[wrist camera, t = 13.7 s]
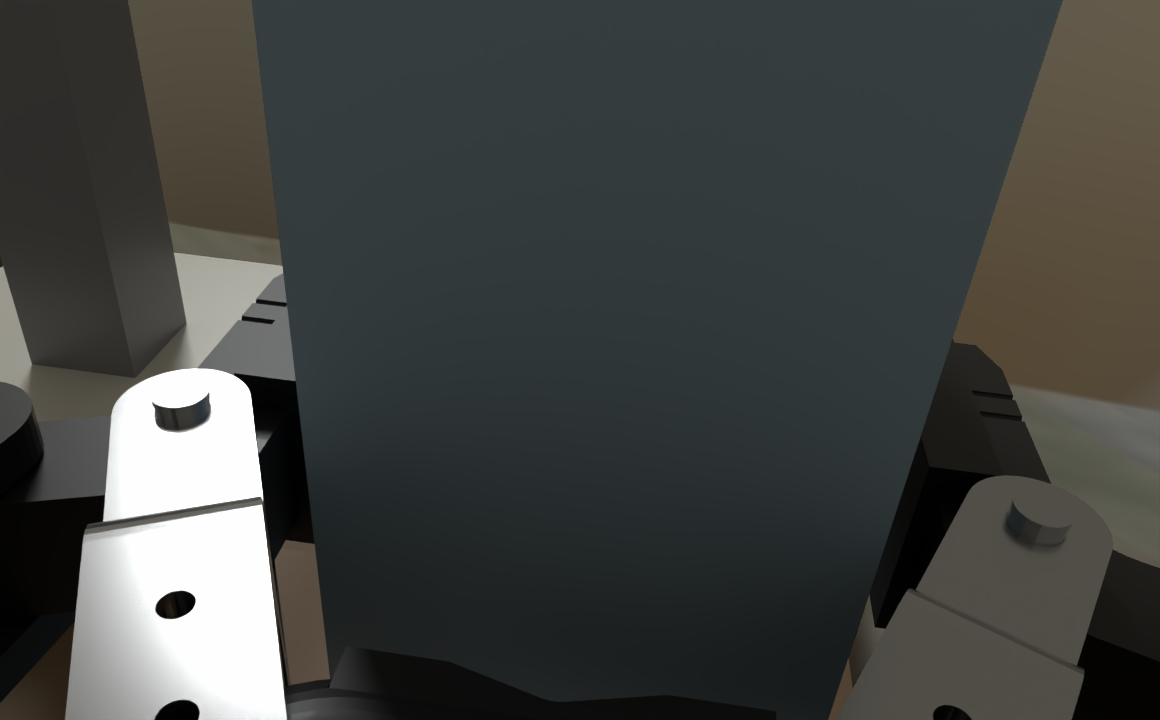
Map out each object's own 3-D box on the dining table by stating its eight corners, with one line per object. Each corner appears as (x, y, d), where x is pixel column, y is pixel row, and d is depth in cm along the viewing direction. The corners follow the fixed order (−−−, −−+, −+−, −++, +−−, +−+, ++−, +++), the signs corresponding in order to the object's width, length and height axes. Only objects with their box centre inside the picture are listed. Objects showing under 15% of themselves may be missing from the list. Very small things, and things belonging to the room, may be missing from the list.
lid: (-215, 465, 19) (-474, -60, 14) (50, 262, 27) (-53, -130, 21) (218, 528, 19) (119, 1, 13) (365, 302, 26) (339, -93, 21)
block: (367, 1002, 14) (226, -207, 6) (451, 710, 18) (441, -229, 10) (715, 1064, 13) (1104, -131, 5) (719, 752, 18) (939, -188, 9)
